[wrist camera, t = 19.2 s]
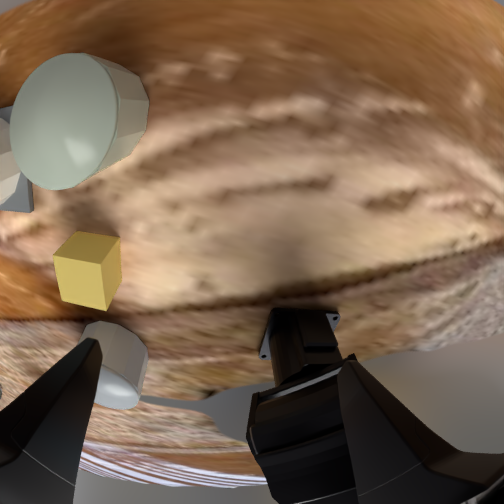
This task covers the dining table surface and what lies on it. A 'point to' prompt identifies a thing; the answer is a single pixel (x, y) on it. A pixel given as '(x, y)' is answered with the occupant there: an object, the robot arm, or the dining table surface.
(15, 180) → the cream cup
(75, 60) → the sage cup
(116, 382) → the light grey cylinder
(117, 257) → the yellow cube
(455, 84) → the dining table surface
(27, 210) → the slate coaster
